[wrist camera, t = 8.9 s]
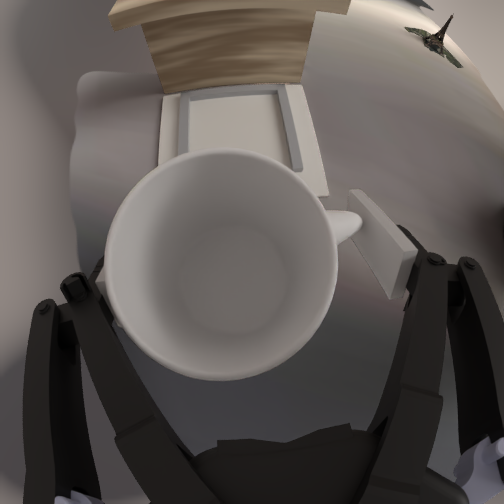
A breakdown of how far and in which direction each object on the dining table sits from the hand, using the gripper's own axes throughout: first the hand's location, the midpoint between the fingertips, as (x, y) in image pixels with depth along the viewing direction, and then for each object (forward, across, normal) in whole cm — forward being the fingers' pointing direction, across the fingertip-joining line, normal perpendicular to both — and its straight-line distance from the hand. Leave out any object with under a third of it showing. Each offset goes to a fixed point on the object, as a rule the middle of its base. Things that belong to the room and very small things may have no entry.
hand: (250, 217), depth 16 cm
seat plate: (+21, 0, +1) cm, 21 cm away
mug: (+1, 0, -5) cm, 5 cm away
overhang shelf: (+26, 0, +6) cm, 27 cm away
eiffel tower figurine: (+44, +49, +22) cm, 69 cm away
